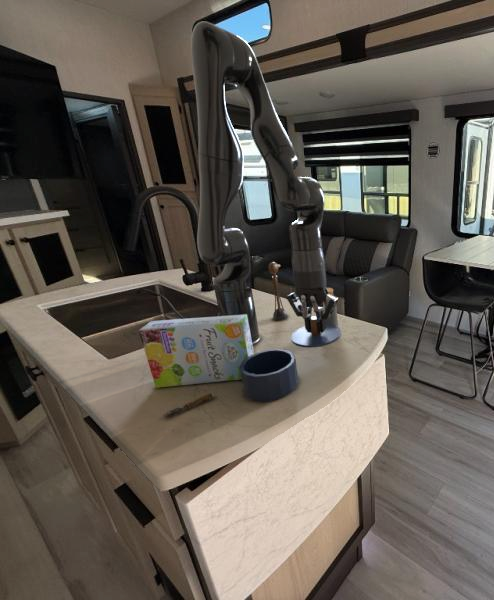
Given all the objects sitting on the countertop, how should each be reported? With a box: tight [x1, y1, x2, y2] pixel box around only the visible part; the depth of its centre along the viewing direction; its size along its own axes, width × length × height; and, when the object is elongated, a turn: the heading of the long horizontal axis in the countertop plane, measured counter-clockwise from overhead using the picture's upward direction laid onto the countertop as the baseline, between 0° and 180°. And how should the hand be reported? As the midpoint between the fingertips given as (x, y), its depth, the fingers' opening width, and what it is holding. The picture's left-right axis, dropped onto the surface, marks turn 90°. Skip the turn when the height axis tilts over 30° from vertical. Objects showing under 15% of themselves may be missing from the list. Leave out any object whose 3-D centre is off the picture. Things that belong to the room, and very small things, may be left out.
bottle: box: [324, 287, 339, 328], centre depth 96 cm, size 6×6×15 cm
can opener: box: [163, 393, 214, 418], centre depth 66 cm, size 9×2×1 cm, turn 130°
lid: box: [290, 315, 342, 349], centre depth 81 cm, size 13×13×6 cm
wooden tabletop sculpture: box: [268, 261, 289, 322], centre depth 109 cm, size 6×5×20 cm
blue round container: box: [240, 348, 299, 403], centre depth 73 cm, size 12×12×6 cm
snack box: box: [138, 314, 255, 389], centre depth 75 cm, size 21×6×15 cm, turn 100°
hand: (315, 331), depth 82 cm, fingers closed on lid, 2 cm apart
